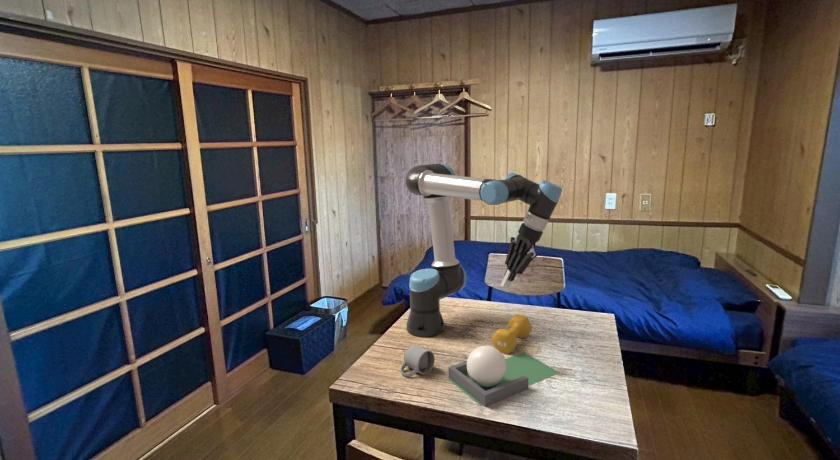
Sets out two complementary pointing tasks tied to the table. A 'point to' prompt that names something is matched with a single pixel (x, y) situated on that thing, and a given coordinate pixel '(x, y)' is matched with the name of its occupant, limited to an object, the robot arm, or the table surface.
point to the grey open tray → (480, 394)
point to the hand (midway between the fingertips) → (504, 286)
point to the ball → (486, 366)
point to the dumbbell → (511, 334)
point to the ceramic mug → (418, 360)
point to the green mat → (520, 371)
